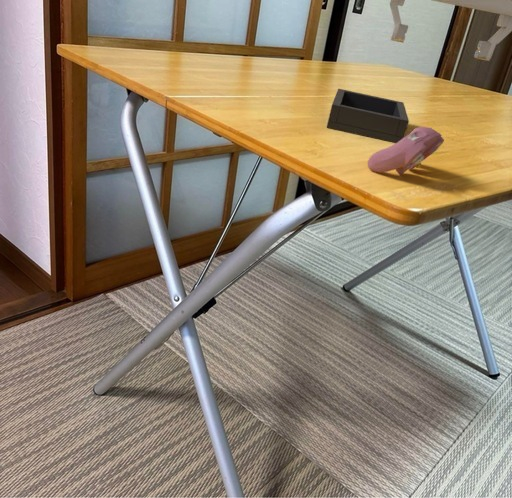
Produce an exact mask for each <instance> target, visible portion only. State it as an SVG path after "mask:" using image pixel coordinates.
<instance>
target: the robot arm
mask: <svg viewBox="0 0 512 498" xmlns="http://www.w3.org/2000/svg"><path fill="white" fill-rule="evenodd" d="M432 1H433V2H438V3H442V4H447V5H454V6H458V7H463V8H468V9H471V10H477V11H482V12H487V13H492V14H496V15H499V17H498V19H497V23H496V27H500V28H499V29H498V30H497V31H496V32H495V33H494V34H493V35H492V36H491V37H490V38H489V39H488V40H487V41H485V40H479V41H478V44H477V46H476V47H477V49H476V50H475V53H474V58H475V59H477V60H483V61H488V62H490V61H491V59H492V57H493V54H494V51H495V49H496V46H497V45H499V44H500V43H501V42H502V41H503V40H504V39H505V38H506V37H507V36H508V35H509V34H510V33H512V0H432ZM405 2H406V0H390V1H389V7H390V11H391V16H392V21H393V27H392V31H391V34H390V39H389V40H390V41H392V42H397V43H404V42H405V38H406V34H407V33H408V30H409V25H408V24H404V23H402V19H401V16H400V11H399V7H403V6H404V5H405Z"/></svg>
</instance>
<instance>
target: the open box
mask: <svg viewBox="0 0 512 498" xmlns="http://www.w3.org/2000/svg"><path fill="white" fill-rule="evenodd" d="M409 122H410V119H409V117H408V113H407V110H406V105H405V103H404V102H403V101H399V100H394V99H390V98H384V97H380V96H377V95H376V96H375V95H371V94H366V93H361V92H357V91H352V90H347V89H343V88H338V89H337V91H336V93H335V96H334V99H333V101H332V103H331V107H330V112H329V116H328V120H327V124H326V128H327V129H332V130H337V131H341V132H344V133H345V132H346V133H350V134H354V135H359V136H363V137H368V138H372V139H375V140H376V139H377V140H382V141H385V142H391V143H394V144H396V143H397V142H399V141H400V140H401V139H403V138H404V137H405V136H406V132H407V129H408V125H409Z"/></svg>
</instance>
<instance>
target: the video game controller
mask: <svg viewBox="0 0 512 498" xmlns="http://www.w3.org/2000/svg"><path fill="white" fill-rule="evenodd" d="M442 136H443V135H442V134H441V133H440V132H438V131H437V130H436V129H434V128H432V127H428V126H418V127H415V128H414V129H412V131H411V132H410V133H408V134H407V135H405V136H404V138H403V139H401V140H400V141H399V142H397V143H394V144H392V145H390V146H387V147H386V148H382V149H380V150H377V151H375V152H373V154H372V155H370V157H369V158H368V159H367V167H368V169H369V170H370V172H371V171H372V172H375V173H387V172H391V171H395V172H396V173H397V174H398V175H400V176H401V175H403V174H405V172H407V171H408V170H409V171H413V170H414V169H415V168H416V169H419V167H421V165H422V162H423V161H425V160H426V159H428V157H430V156H431V155H433V154H434V153H436V151H438V150H439V148H440V147H441V146H442V144H443V143H444V142H445V139H444V138H443V137H442Z"/></svg>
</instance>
